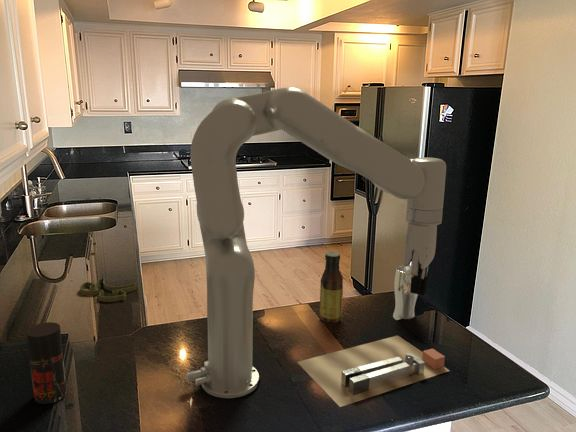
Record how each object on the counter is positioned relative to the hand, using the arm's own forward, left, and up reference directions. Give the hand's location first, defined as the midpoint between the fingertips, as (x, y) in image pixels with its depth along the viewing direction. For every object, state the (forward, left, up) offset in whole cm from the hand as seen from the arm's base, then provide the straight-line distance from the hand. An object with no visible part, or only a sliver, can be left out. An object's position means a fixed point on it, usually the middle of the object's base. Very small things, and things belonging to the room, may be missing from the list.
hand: (418, 292), depth 106 cm
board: (-10, +2, -18) cm, 21 cm away
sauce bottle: (-5, +28, -19) cm, 34 cm away
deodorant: (-76, +23, -19) cm, 82 cm away
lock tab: (+3, -3, -17) cm, 18 cm away
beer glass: (+15, +20, -19) cm, 31 cm away
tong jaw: (-13, -2, -17) cm, 22 cm away
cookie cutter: (-59, +73, -19) cm, 96 cm away
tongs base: (-11, -4, -17) cm, 21 cm away
